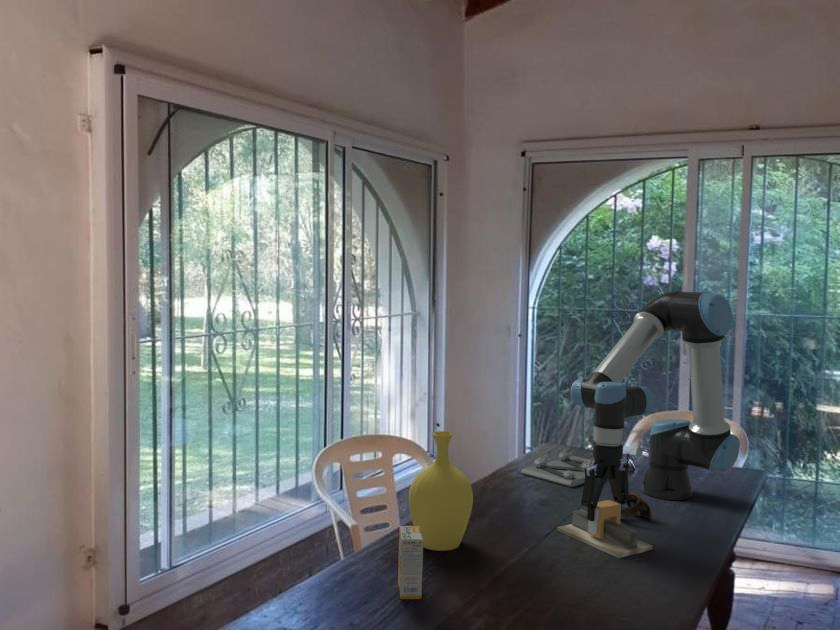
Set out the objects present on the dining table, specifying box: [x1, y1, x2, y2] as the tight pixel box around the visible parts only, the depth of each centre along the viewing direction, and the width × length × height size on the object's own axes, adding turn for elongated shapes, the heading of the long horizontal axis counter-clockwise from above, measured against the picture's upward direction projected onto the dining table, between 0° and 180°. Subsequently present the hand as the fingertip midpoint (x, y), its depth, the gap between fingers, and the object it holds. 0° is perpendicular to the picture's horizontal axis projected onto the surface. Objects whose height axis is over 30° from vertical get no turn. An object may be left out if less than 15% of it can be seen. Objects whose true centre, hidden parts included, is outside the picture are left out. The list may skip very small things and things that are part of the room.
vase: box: [408, 430, 474, 552], centre depth 201 cm, size 16×16×28 cm
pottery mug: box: [620, 492, 653, 523], centre depth 227 cm, size 12×10×8 cm
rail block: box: [556, 508, 654, 559], centre depth 208 cm, size 12×22×5 cm, turn 33°
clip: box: [588, 499, 621, 539], centre depth 208 cm, size 7×4×8 cm, turn 123°
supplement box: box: [397, 525, 424, 600], centre depth 172 cm, size 8×5×13 cm, turn 5°
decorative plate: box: [520, 450, 600, 489], centre depth 272 cm, size 30×22×7 cm
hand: (604, 530), depth 208 cm, fingers open, 7 cm apart
